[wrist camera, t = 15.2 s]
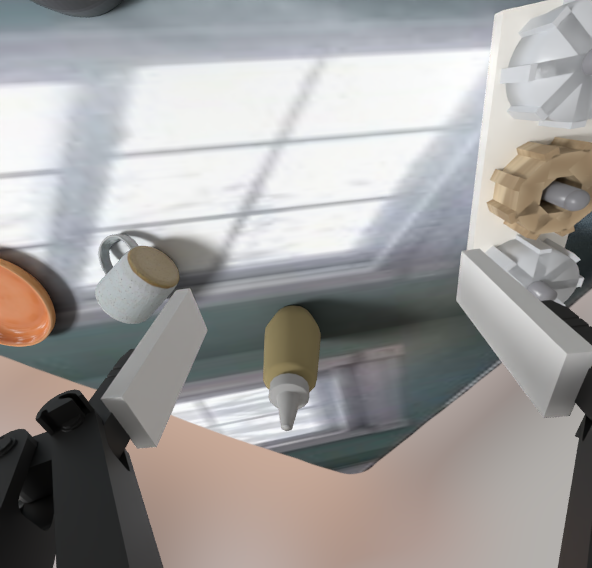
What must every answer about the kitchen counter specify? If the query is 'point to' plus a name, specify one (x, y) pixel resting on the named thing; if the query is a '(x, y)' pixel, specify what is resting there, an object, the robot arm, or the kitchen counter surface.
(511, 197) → the wooden gear
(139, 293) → the ceramic mug
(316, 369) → the squeeze bottle
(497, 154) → the gear board
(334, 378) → the kitchen counter surface
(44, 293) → the saucer
